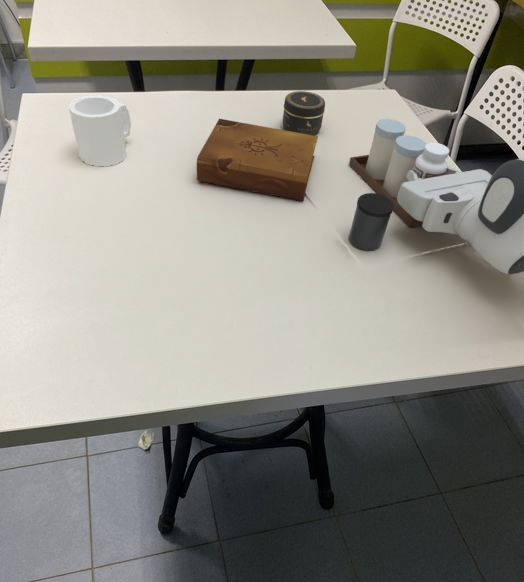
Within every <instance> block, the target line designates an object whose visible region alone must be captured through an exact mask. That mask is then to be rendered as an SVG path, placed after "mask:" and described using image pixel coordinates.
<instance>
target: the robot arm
mask: <svg viewBox="0 0 524 582" xmlns="http://www.w3.org/2000/svg"><path fill="white" fill-rule="evenodd" d="M419 174H420V173H419V172H418V171H417V170H409V171H408V173H407V179H408V180H409V182H404V183H402V185H401V187H400V190H399V192H398V196H397V201H398V203H399V204H400V205H401V207H402V208H403V209H404V210H405V211H406V212H407V213H408V214H410V215H411V216H412V217H413V218H414V219H416V220H418V221H422V222H423V224H422V226H421V227H422V228H423V229H424V230H425V231H427V232H430V233H446V234H450V235H458V236H459V237H460V238H461V239H462V240H464V241H466V242H468V243H470V245H471V246H472V248H473V250H474V251H475V253H477V254H478V255H479V256H480V257H481V258H482V259H483V260H484V261H485V262H486V263H487V264H489V265H490V266H492V267H493V268H494V269H496V270H497V271H499V272H500V273H503V274H506V275H515V274H520V273H523V272H524V157H523V158H517V159H511V160H508V161H506V162H503V163H502V164H501V165H500V166H498V168H496V170H495V171H494V172H493V173H492V174H491V173H490V172H488V171H487V170H485V169H481V168H477V169H473V170H467V171H461V170H459V169H456V168H452V167H451V166H449V165H448V164H447V169H446V172H445V175H443V176H437V177H432V178H426V179H421V178H418V177H419Z"/></svg>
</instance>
